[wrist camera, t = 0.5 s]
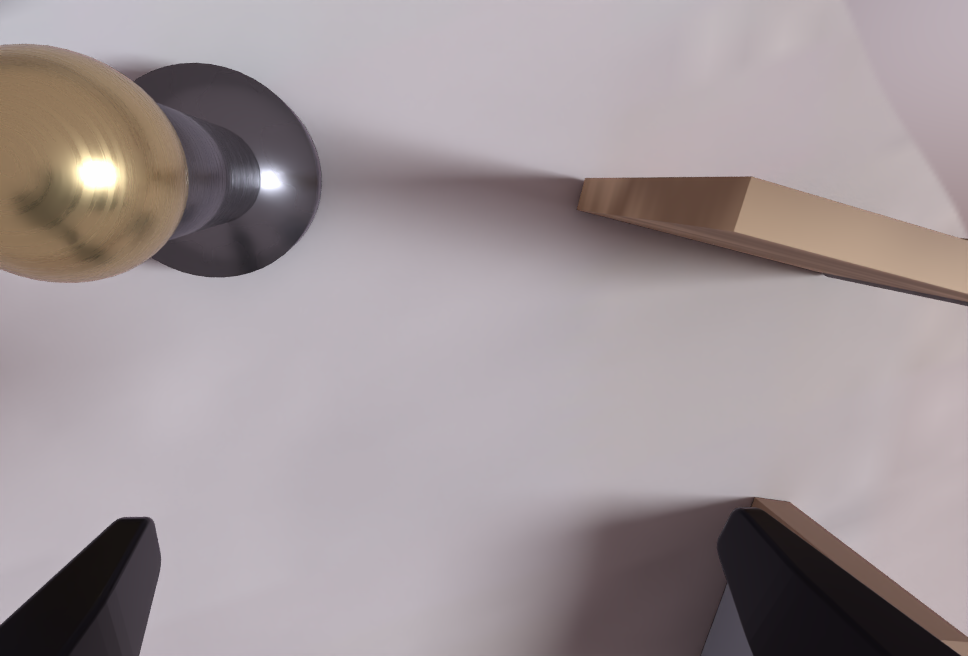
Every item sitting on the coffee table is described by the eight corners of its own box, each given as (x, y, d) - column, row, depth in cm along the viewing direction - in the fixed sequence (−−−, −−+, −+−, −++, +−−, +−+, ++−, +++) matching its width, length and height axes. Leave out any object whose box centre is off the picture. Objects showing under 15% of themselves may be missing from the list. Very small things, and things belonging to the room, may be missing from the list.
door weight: (304, 285, 21) (218, 429, 9) (110, 246, 20) (-316, 357, 7) (337, 105, 20) (289, -16, 8) (133, 49, 19) (-333, -213, 6)
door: (841, 280, 25) (1127, 340, 16) (575, 212, 22) (732, 235, 13) (852, 248, 25) (1150, 290, 16) (585, 175, 22) (753, 172, 13)
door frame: (712, 707, 30) (847, 913, 22) (678, 706, 30) (804, 916, 21) (889, 237, 26) (1151, 266, 17) (852, 226, 25) (1103, 251, 17)
